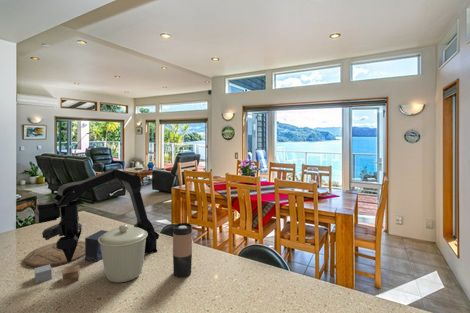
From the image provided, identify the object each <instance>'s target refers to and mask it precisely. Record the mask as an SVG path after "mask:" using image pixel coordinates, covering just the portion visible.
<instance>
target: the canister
mask: <svg viewBox="0 0 470 313" xmlns="http://www.w3.org/2000/svg"><path fill="white" fill-rule="evenodd" d="M107 231H108V232H106V233H105V234H103V235H102V236H100V237H99V239H98V242H99V243H100V245H101V252H102V259H101V260H102V265H103V270H104V274H105V277H106V278H107V280H108V281H109V282H112V283H118V284H119V283H126V282H129V281H130V282H131V281H132V280H135V279H136V278H137V277H139V276H140V275H141V272H142V271H143V266H144V260H145V254H144V252H145V243H146V237H147V236H148V233H147V231H145V230H143V229H141V228H137V227H134V226H129V225H128V224H126V223H123V224H120V226H119V227H117V228H114V229H111V230H107Z"/></svg>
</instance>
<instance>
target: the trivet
mask: <svg viewBox="0 0 470 313" xmlns="http://www.w3.org/2000/svg"><path fill="white" fill-rule="evenodd" d="M56 243H57V241H56V242H53V243H48V244H46V245H43V246H40V247H38V248H35V249H33V250H31V251H30V252H28V253H27V255H26V256H25V257H24V260H25V264H26V266H29V267H31V268H38V267H42V266H46V265H49V264H50V266H51V268H53V267H59V266H63V265H67V264H70V263H72V262H75V261H78V260H80V259H81V258H84V257H85V241H83V240H78V244H77V247H76V250H75V252H74V255H73V257H72V260H71V261H70V262H67V259H66V257H65V254H64V252H63V250H61V249H57V248H56Z"/></svg>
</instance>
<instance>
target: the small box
mask: <svg viewBox="0 0 470 313" xmlns="http://www.w3.org/2000/svg"><path fill="white" fill-rule="evenodd" d="M108 231H109V230H103V229H101V230H99V231H97V232H95V233H93V234H90V235H88V236H86V237H85V238H84V240H85V241H84V242H85V256H84V258H85V259H84V260H85V261H88V262H96V263H97V262H98V261H101V260H103V259H102V252H101V245H100V243H99V242H98V239H99V237H100V236H102V235H103V234H105V233H106V232H108Z"/></svg>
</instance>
